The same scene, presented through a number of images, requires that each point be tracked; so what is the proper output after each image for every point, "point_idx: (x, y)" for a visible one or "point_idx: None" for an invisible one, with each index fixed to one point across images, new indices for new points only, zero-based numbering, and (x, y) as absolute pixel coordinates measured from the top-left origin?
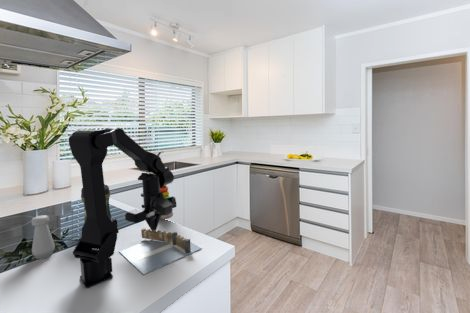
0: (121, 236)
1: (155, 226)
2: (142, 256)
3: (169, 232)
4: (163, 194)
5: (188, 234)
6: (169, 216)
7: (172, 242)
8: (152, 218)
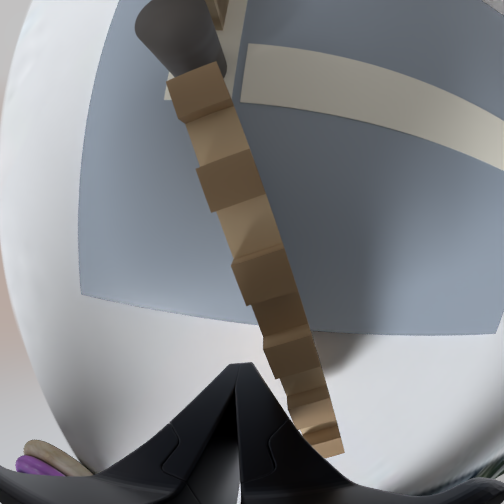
0: (349, 478)
1: (231, 401)
2: (485, 135)
3: (185, 99)
4: None
5: (31, 165)
6: (43, 447)
7: (222, 69)
8: (439, 499)
